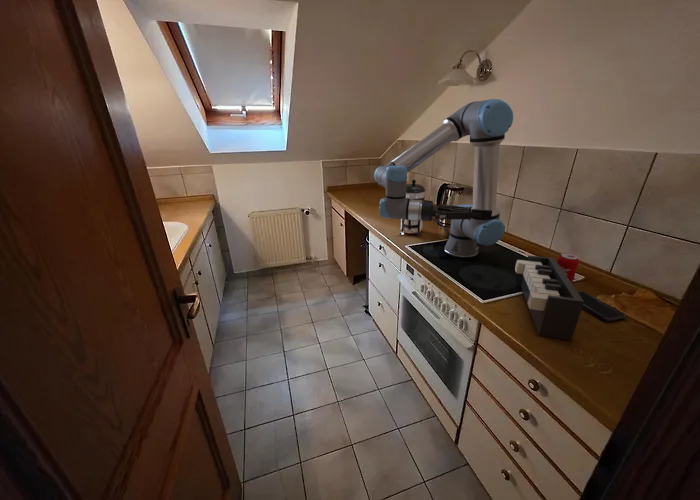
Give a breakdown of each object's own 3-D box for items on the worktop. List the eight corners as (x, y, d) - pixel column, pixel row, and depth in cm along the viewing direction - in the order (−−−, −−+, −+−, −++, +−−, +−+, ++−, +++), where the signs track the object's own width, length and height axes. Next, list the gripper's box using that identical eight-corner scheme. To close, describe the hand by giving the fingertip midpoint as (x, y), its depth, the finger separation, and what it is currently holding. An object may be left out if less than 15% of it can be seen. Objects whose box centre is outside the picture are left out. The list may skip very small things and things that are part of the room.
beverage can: (550, 279, 116) (558, 251, 111) (570, 282, 113) (578, 253, 108) (552, 286, 111) (560, 257, 106) (572, 290, 108) (581, 260, 103)
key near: (527, 303, 88) (530, 292, 86) (556, 307, 86) (560, 295, 84) (529, 309, 86) (532, 297, 84) (559, 313, 83) (563, 301, 82)
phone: (606, 319, 90) (564, 293, 104) (605, 322, 91) (563, 296, 104) (627, 315, 91) (583, 291, 105) (626, 318, 92) (582, 293, 105)
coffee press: (391, 231, 172) (392, 179, 161) (414, 227, 178) (417, 176, 167) (408, 240, 158) (411, 184, 146) (432, 235, 164) (437, 180, 152)
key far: (514, 269, 108) (516, 259, 107) (538, 272, 106) (540, 262, 104) (516, 273, 106) (518, 263, 104) (540, 275, 103) (542, 265, 102)
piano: (516, 286, 112) (523, 254, 107) (545, 290, 109) (554, 257, 104) (533, 334, 87) (543, 296, 81) (571, 341, 84) (584, 301, 79)
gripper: (422, 215, 117) (488, 219, 109) (418, 225, 105) (491, 230, 98) (424, 196, 114) (491, 199, 106) (420, 204, 102) (495, 208, 95)
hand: (491, 214), depth 102 cm, fingers closed
